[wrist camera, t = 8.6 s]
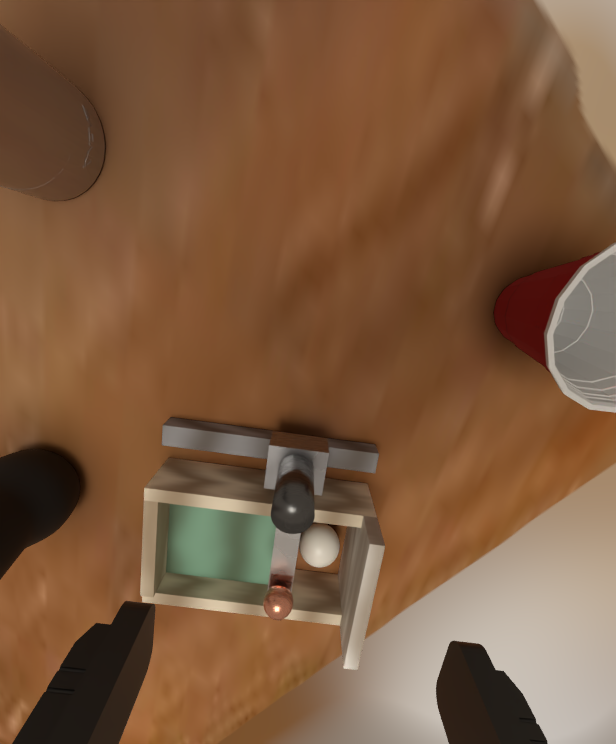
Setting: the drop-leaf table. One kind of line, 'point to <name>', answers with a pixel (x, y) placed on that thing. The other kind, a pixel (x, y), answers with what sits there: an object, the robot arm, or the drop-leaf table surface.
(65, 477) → the cola bottle
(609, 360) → the plastic cup
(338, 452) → the pitch
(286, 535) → the striker
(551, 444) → the drop-leaf table surface
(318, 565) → the ball
